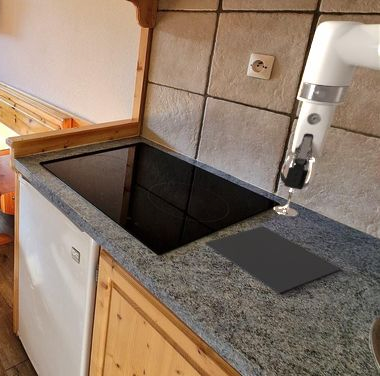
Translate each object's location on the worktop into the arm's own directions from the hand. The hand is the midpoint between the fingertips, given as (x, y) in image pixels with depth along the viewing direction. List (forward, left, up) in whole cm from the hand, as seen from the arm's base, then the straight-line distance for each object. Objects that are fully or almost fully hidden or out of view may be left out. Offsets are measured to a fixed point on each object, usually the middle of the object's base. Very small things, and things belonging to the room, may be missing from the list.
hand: (295, 181), depth 82 cm
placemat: (+2, -2, -20) cm, 20 cm away
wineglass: (0, 0, -7) cm, 7 cm away
